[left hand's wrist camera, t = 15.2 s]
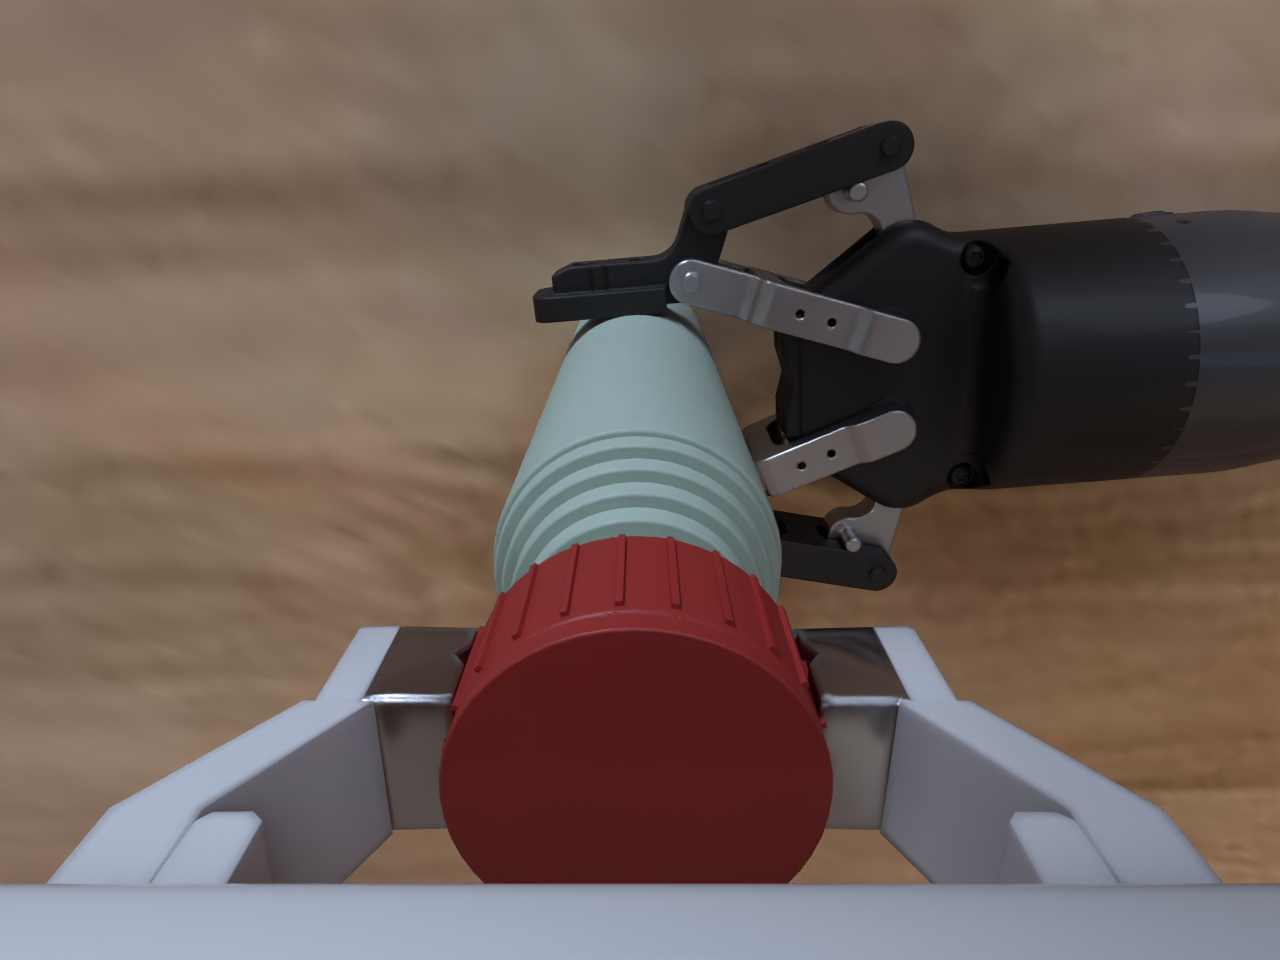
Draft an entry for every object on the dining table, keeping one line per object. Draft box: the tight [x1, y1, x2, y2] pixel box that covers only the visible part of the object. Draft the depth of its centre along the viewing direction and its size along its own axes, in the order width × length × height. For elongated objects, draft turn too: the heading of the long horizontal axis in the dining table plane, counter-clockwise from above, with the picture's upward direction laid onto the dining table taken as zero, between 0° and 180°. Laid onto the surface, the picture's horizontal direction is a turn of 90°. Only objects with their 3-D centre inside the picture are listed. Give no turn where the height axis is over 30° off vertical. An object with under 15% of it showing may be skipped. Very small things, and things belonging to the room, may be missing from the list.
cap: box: [439, 534, 833, 884], centre depth 9 cm, size 4×4×2 cm
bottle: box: [493, 303, 782, 604], centre depth 19 cm, size 5×5×23 cm
